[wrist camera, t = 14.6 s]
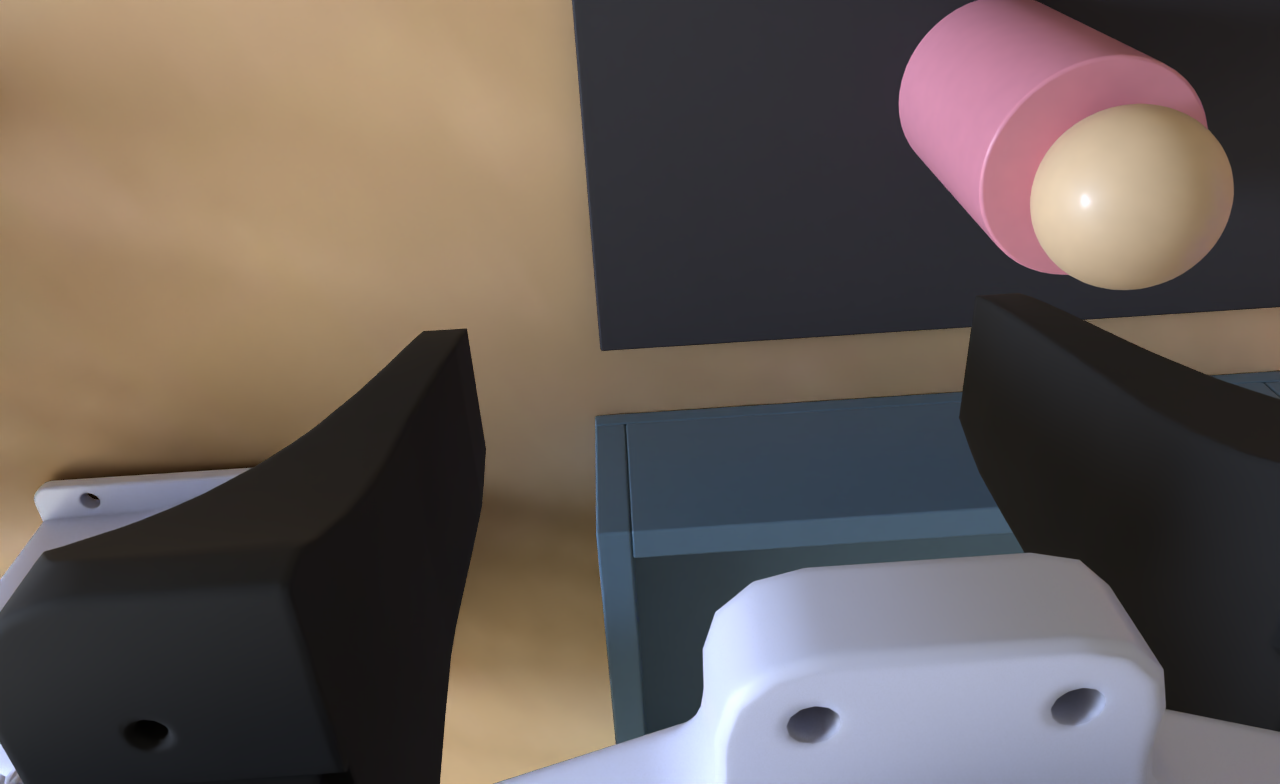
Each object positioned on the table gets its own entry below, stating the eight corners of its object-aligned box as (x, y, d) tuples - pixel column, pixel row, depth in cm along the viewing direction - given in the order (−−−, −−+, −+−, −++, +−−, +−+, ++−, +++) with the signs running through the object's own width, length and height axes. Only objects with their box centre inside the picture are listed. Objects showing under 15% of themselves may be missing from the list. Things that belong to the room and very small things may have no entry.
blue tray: (631, 825, 36) (636, 965, 32) (594, 415, 27) (596, 534, 23) (1143, 789, 36) (1217, 923, 32) (1281, 370, 27) (1411, 480, 23)
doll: (897, 187, 23) (1031, 364, 16) (898, 9, 21) (1052, 121, 14) (1069, 164, 23) (1279, 331, 16) (1087, -18, 21) (1337, 82, 14)
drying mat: (600, 342, 26) (600, 352, 25) (556, -199, 19) (555, -199, 19) (1294, 297, 26) (1306, 306, 25) (1472, -253, 20) (1492, -255, 19)
